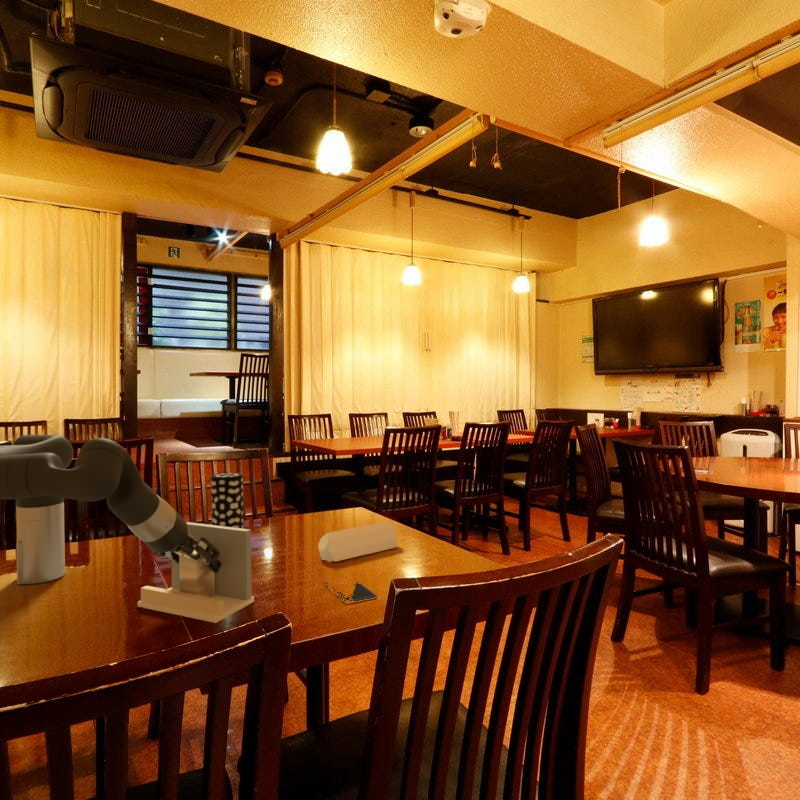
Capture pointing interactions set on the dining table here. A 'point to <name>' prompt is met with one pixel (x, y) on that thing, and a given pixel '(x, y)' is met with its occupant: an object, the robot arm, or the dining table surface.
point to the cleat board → (228, 581)
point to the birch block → (196, 577)
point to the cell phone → (358, 593)
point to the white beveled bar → (357, 541)
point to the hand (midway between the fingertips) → (202, 566)
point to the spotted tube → (227, 499)
